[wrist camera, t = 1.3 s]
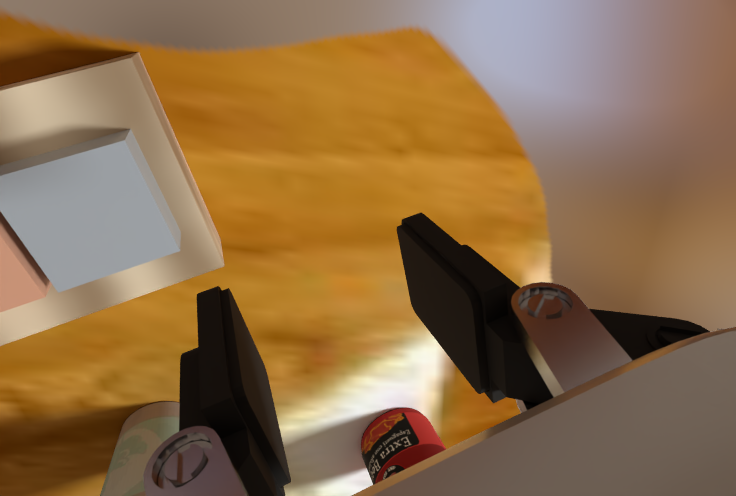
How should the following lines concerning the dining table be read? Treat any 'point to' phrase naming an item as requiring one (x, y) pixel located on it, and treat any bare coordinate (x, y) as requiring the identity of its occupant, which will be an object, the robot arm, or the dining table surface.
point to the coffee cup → (139, 447)
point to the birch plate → (90, 121)
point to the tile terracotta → (18, 271)
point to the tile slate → (88, 209)
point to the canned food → (398, 443)
